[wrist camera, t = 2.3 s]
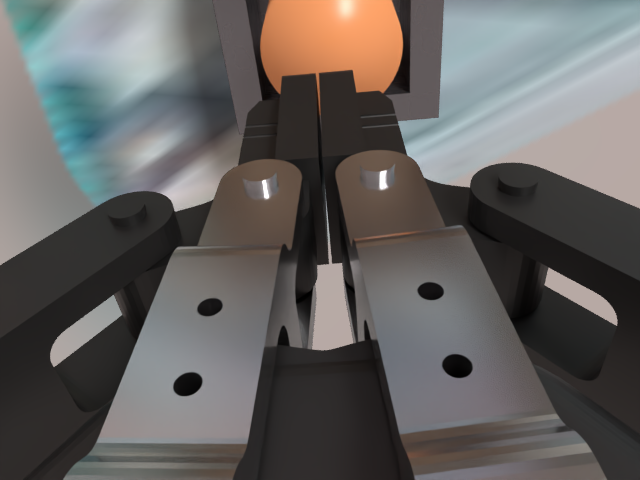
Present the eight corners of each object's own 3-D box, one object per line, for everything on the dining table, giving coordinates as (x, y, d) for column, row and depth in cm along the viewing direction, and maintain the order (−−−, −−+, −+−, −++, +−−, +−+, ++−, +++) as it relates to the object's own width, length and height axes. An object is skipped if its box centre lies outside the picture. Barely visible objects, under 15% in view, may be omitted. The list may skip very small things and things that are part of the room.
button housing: (426, -136, 18) (449, -120, 15) (421, 72, 23) (438, 117, 19) (214, -112, 19) (193, -93, 15) (250, 87, 23) (239, 134, 20)
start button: (389, -61, 17) (402, -34, 14) (391, 66, 20) (402, 109, 17) (259, -48, 17) (249, -18, 15) (277, 76, 20) (271, 121, 17)
